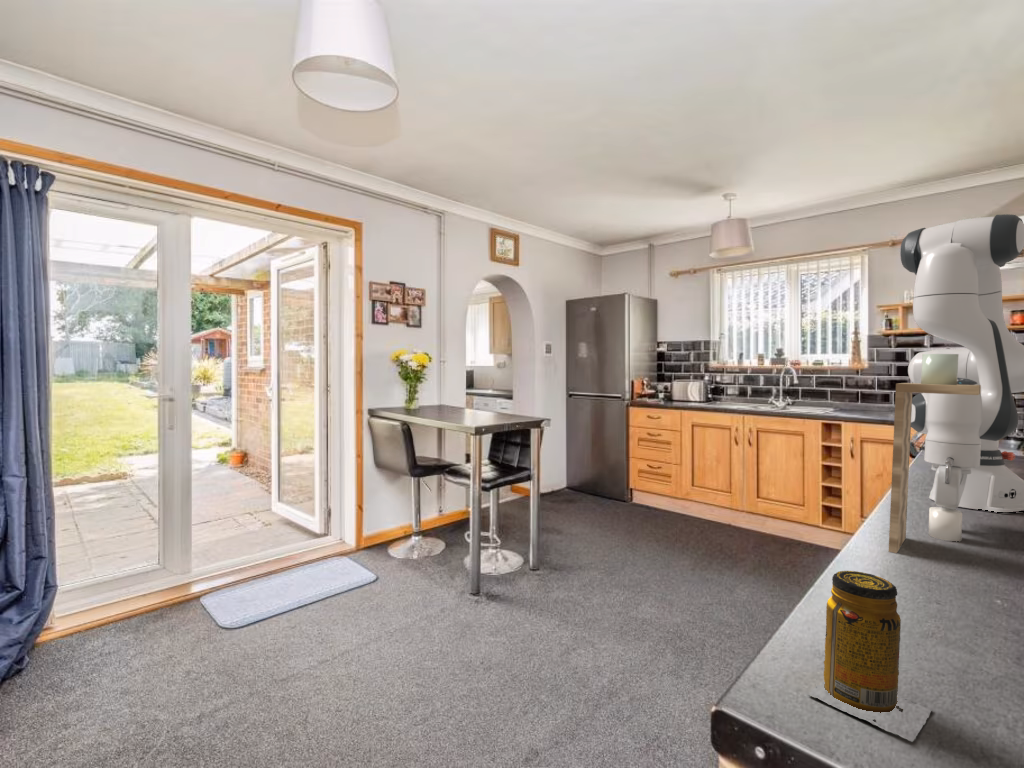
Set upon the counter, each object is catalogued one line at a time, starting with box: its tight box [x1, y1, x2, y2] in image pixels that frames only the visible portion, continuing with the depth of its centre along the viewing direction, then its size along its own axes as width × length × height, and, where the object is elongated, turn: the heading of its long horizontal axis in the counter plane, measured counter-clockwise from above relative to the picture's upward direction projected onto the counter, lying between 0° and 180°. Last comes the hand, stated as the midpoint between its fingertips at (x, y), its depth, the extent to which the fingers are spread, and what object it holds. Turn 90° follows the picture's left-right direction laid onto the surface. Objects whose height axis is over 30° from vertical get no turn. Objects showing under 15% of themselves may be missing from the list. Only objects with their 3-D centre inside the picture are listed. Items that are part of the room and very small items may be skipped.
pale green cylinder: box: [921, 354, 959, 385], centre depth 92 cm, size 5×5×5 cm
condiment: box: [823, 570, 902, 713], centre depth 50 cm, size 7×8×12 cm
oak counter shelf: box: [888, 382, 981, 554], centre depth 93 cm, size 12×11×30 cm
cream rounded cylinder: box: [928, 506, 963, 542], centre depth 102 cm, size 5×5×5 cm
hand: (948, 521), depth 107 cm, fingers closed
